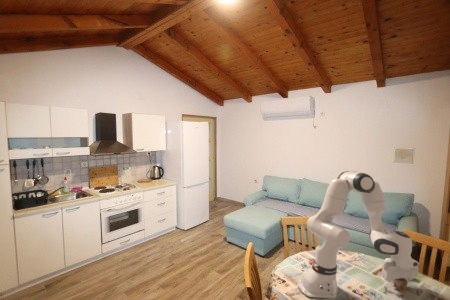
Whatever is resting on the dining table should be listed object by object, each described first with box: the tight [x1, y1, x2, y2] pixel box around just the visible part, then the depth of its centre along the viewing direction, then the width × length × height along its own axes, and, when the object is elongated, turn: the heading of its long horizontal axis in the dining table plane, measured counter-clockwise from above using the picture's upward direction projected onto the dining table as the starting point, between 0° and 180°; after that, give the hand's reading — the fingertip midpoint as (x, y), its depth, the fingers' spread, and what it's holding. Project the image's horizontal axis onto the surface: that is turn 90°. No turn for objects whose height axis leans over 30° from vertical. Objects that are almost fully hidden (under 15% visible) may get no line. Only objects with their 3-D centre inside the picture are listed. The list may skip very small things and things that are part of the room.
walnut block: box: [392, 278, 409, 292], centre depth 125 cm, size 5×5×6 cm
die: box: [382, 257, 391, 267], centre depth 138 cm, size 8×9×10 cm
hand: (399, 284), depth 125 cm, fingers open, 6 cm apart
